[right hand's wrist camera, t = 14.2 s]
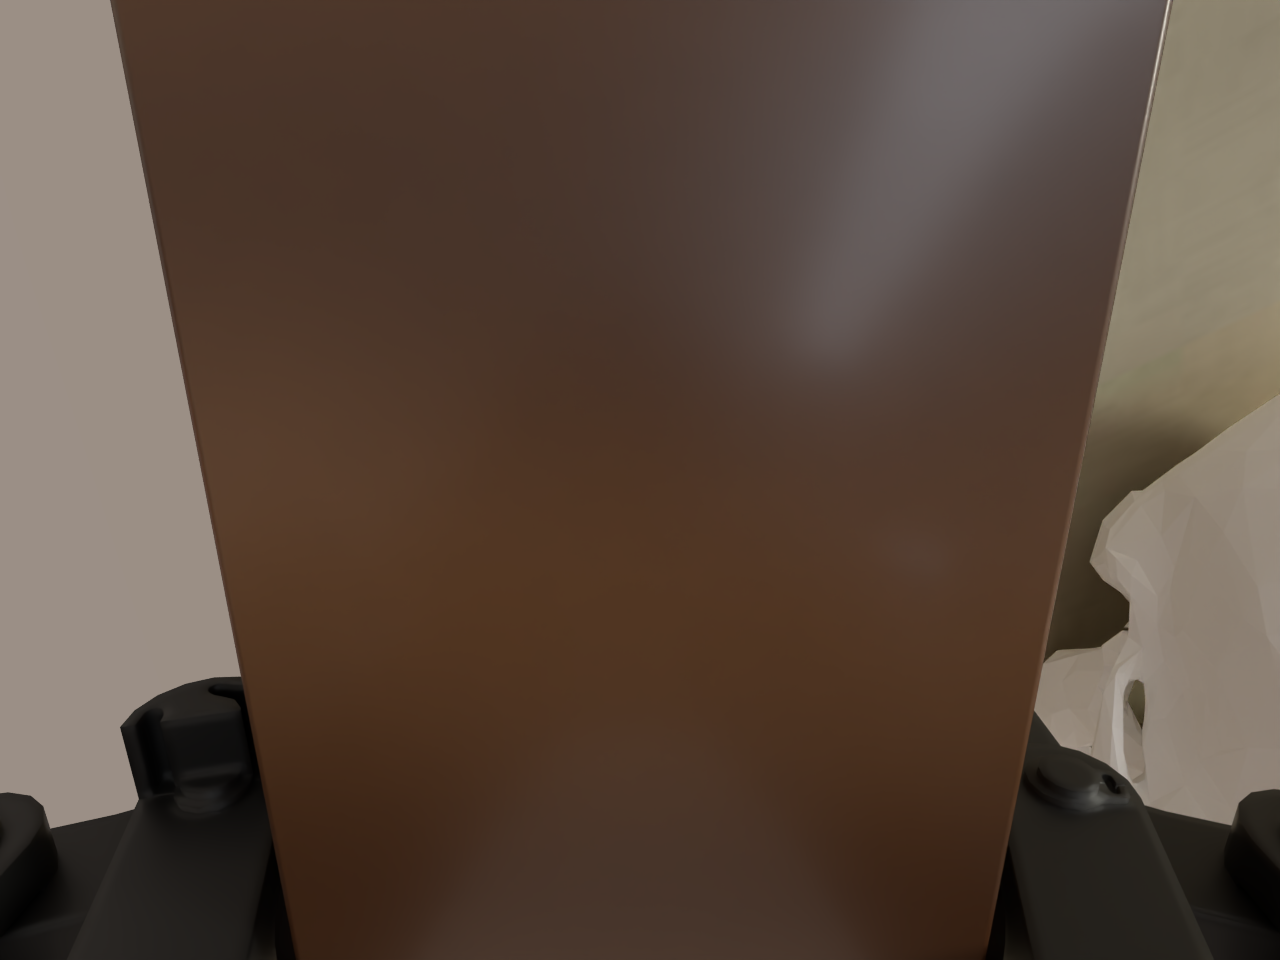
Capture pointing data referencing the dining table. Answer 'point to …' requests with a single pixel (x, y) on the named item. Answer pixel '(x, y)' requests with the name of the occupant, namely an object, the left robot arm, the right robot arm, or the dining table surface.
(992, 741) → the walnut bar
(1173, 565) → the skull
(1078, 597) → the dining table surface
